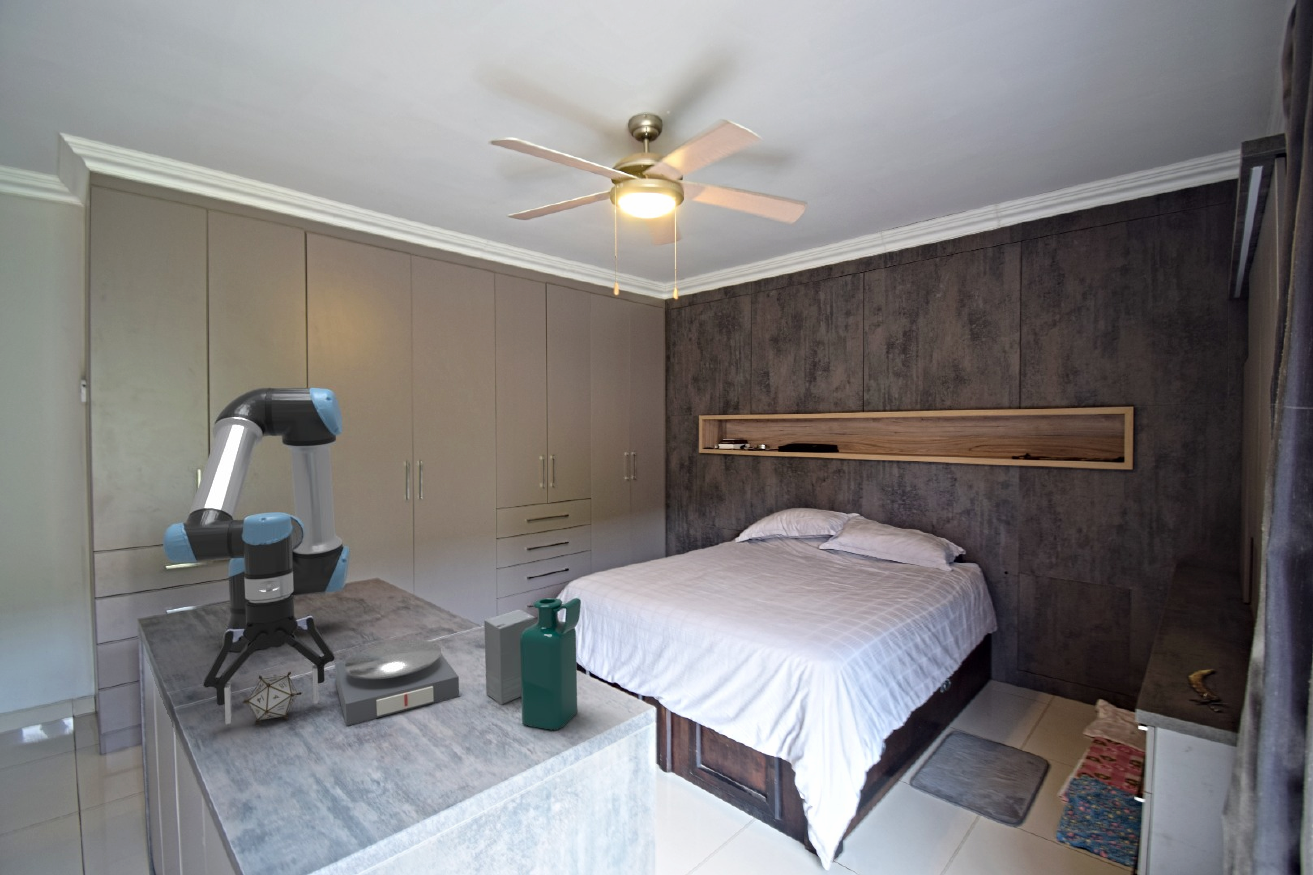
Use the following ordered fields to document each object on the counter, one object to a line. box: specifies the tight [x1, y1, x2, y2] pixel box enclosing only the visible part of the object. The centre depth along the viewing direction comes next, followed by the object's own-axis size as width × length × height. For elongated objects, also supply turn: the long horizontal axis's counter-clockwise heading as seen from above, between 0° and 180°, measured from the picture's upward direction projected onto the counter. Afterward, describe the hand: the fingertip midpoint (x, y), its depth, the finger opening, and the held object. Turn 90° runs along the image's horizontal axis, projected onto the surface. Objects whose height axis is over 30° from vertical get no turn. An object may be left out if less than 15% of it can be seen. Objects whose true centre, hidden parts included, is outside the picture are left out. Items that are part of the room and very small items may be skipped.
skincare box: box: [483, 608, 536, 705], centre depth 118 cm, size 8×7×16 cm
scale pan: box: [345, 639, 442, 679], centre depth 121 cm, size 18×18×2 cm
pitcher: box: [520, 597, 582, 731], centre depth 108 cm, size 10×8×22 cm
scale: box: [334, 653, 460, 727], centre depth 121 cm, size 23×20×4 cm
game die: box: [242, 670, 303, 726], centre depth 110 cm, size 9×8×10 cm
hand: (273, 710), depth 110 cm, fingers open, 13 cm apart
